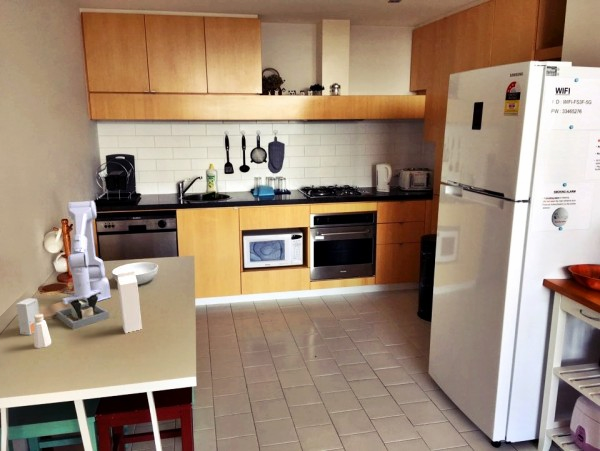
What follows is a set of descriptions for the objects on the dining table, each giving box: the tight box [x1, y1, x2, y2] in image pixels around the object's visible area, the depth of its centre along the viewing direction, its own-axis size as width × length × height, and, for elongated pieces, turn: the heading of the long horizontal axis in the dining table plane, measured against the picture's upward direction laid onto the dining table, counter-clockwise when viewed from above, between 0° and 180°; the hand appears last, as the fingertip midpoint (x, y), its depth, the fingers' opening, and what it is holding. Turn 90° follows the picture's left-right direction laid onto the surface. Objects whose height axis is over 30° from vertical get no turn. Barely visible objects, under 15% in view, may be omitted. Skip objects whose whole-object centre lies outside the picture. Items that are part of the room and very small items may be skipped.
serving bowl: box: [111, 261, 159, 286], centre depth 227 cm, size 21×21×7 cm
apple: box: [64, 277, 75, 294], centre depth 216 cm, size 8×8×6 cm
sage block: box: [69, 300, 86, 319], centre depth 189 cm, size 4×4×5 cm
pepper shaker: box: [33, 314, 52, 349], centre depth 164 cm, size 5×5×11 cm
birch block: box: [78, 305, 94, 320], centre depth 184 cm, size 4×4×5 cm
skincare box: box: [15, 297, 40, 336], centre depth 175 cm, size 6×4×12 cm
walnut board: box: [39, 301, 71, 321], centre depth 193 cm, size 14×12×1 cm
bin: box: [56, 301, 110, 330], centre depth 187 cm, size 14×17×2 cm
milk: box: [116, 271, 143, 334], centre depth 173 cm, size 6×6×22 cm
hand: (85, 316), depth 184 cm, fingers closed on birch block, 4 cm apart
